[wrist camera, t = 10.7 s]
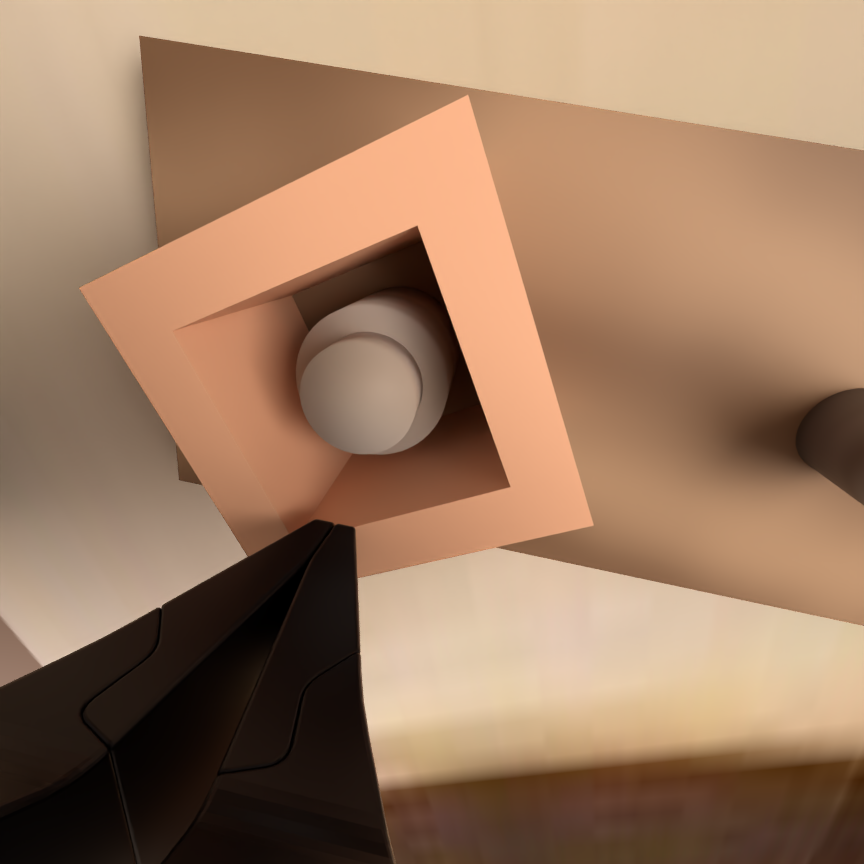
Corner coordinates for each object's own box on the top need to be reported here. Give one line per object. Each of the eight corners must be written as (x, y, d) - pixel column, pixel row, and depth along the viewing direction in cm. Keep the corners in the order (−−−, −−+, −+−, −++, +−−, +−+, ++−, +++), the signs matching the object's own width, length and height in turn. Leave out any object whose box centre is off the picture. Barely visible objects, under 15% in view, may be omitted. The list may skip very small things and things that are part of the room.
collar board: (931, 612, 15) (1172, 821, 10) (205, 460, 17) (64, 569, 11) (1255, 231, 10) (2102, 227, 5) (180, 59, 12) (-94, -95, 6)
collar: (558, 422, 13) (594, 525, 8) (342, 483, 15) (273, 596, 10) (480, 155, 10) (467, 94, 6) (234, 267, 12) (78, 287, 8)
